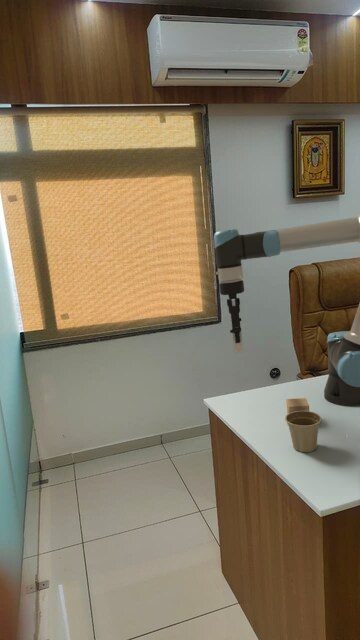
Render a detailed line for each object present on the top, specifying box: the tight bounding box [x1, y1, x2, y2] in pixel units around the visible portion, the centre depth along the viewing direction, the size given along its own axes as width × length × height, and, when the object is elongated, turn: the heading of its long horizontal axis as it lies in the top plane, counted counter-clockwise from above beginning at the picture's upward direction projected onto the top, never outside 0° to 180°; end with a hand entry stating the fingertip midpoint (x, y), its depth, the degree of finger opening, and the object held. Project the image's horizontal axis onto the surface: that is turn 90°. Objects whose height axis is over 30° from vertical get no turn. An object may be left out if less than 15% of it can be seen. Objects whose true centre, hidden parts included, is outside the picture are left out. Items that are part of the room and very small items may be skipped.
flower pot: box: [284, 410, 322, 453], centre depth 113 cm, size 9×9×9 cm
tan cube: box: [285, 397, 310, 415], centre depth 129 cm, size 6×6×6 cm
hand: (238, 346), depth 132 cm, fingers open, 13 cm apart
